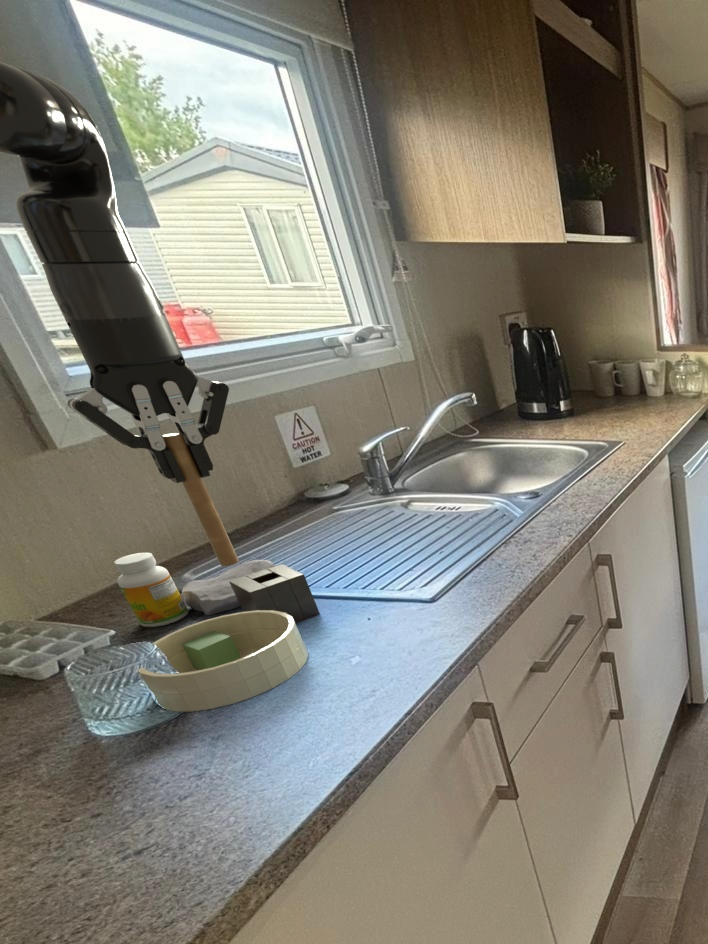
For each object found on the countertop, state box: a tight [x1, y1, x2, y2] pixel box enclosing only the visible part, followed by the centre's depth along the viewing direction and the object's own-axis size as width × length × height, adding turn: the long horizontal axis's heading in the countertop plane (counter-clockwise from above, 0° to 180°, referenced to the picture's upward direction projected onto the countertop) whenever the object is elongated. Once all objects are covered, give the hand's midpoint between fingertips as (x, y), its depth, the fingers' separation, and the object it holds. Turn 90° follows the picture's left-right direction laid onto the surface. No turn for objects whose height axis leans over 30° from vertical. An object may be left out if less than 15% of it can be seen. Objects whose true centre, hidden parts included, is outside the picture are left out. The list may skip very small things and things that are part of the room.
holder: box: [229, 563, 321, 625], centre depth 93 cm, size 7×7×7 cm
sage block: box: [182, 631, 241, 670], centre depth 83 cm, size 4×4×4 cm
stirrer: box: [162, 432, 240, 567], centre depth 76 cm, size 2×2×16 cm
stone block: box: [181, 559, 277, 616], centre depth 100 cm, size 12×5×10 cm
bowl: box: [137, 610, 309, 713], centre depth 81 cm, size 15×15×6 cm
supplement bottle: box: [113, 552, 189, 628], centre depth 93 cm, size 5×5×10 cm
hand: (190, 478), depth 75 cm, fingers closed on stirrer, 2 cm apart
